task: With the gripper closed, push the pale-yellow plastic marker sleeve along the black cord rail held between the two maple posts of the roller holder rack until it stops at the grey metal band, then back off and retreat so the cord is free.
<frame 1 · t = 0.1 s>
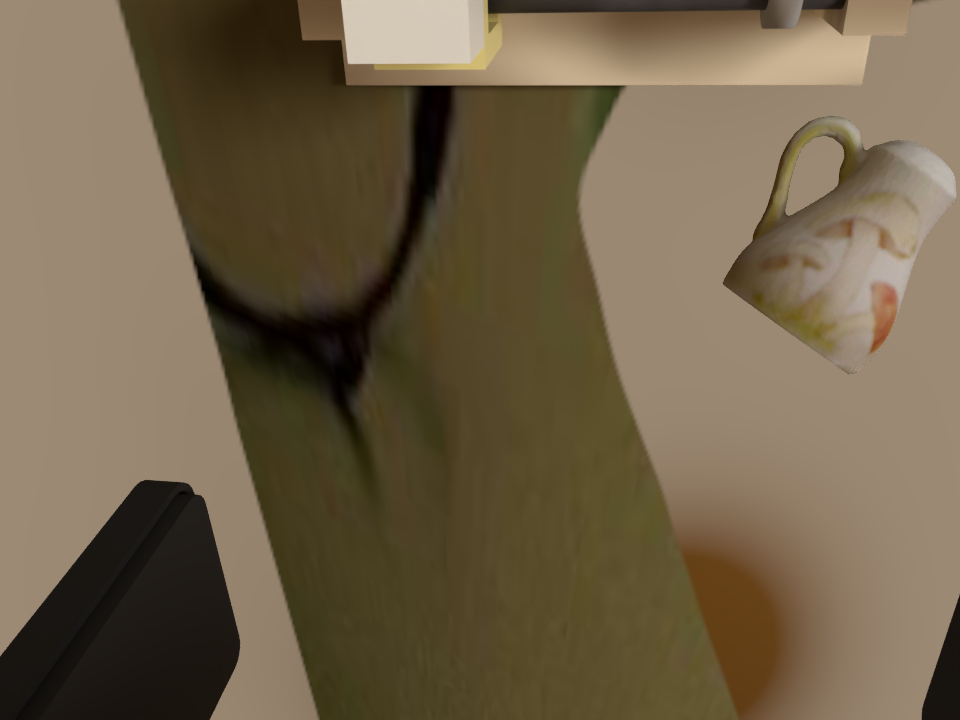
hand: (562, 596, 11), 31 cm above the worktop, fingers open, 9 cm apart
mug: (828, 220, 39), on the worktop
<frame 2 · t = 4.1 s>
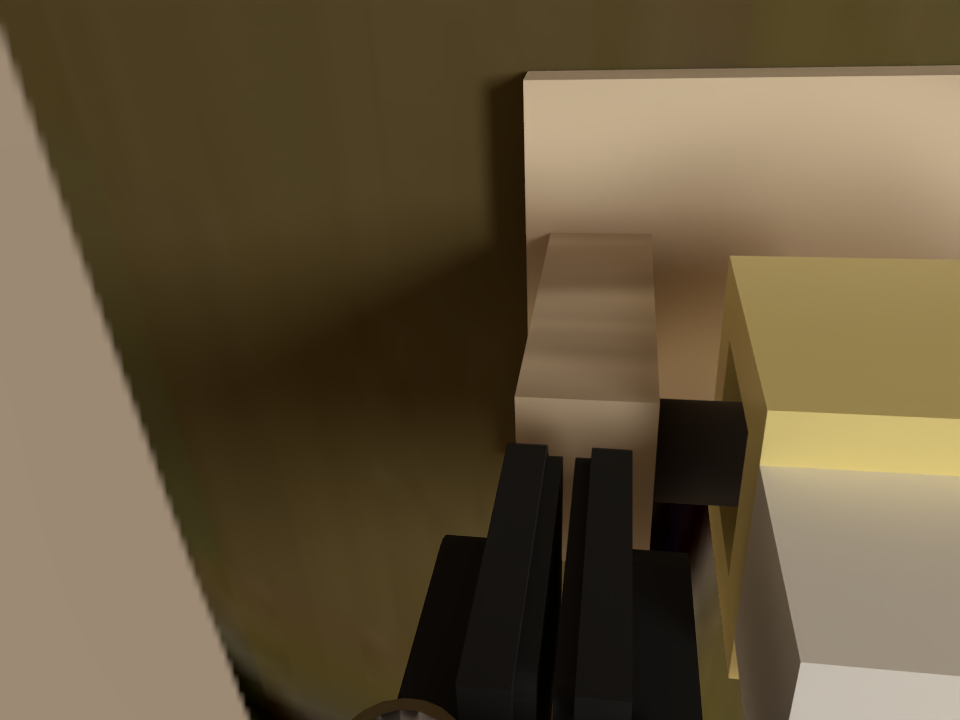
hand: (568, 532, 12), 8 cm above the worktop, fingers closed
marker sleeve: (892, 527, 12), point 8 cm above the worktop, slide at -5.3 cm, touching gripper
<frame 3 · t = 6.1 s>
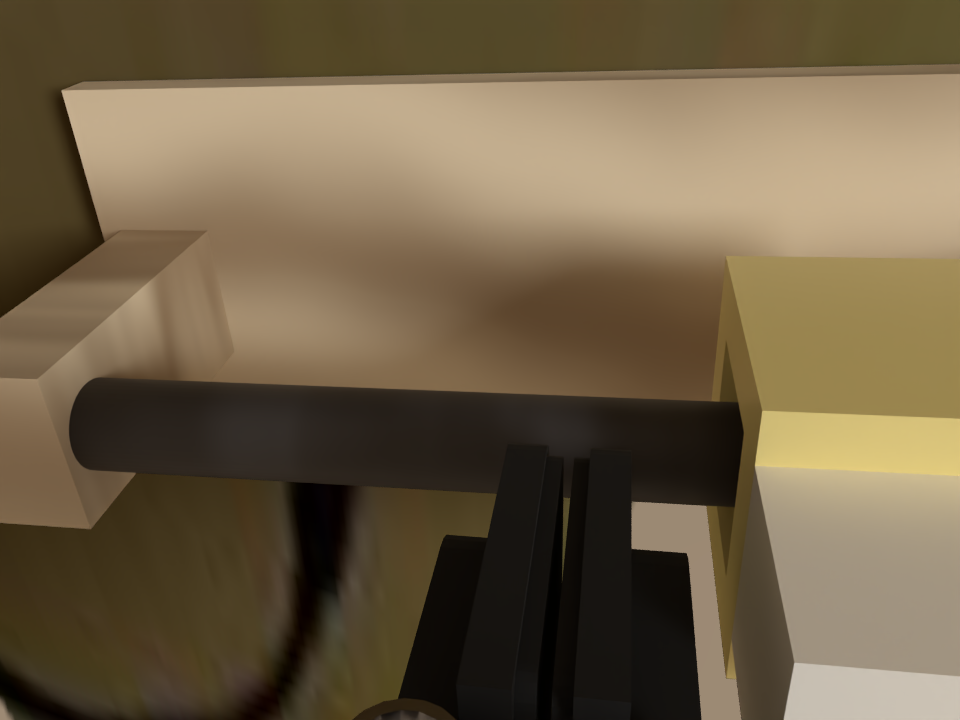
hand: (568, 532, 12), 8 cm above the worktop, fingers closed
roller holder rack: (604, 285, 19), on the worktop
marker sleeve: (889, 527, 12), point 8 cm above the worktop, slide at 4.0 cm, touching roller holder rack, gripper
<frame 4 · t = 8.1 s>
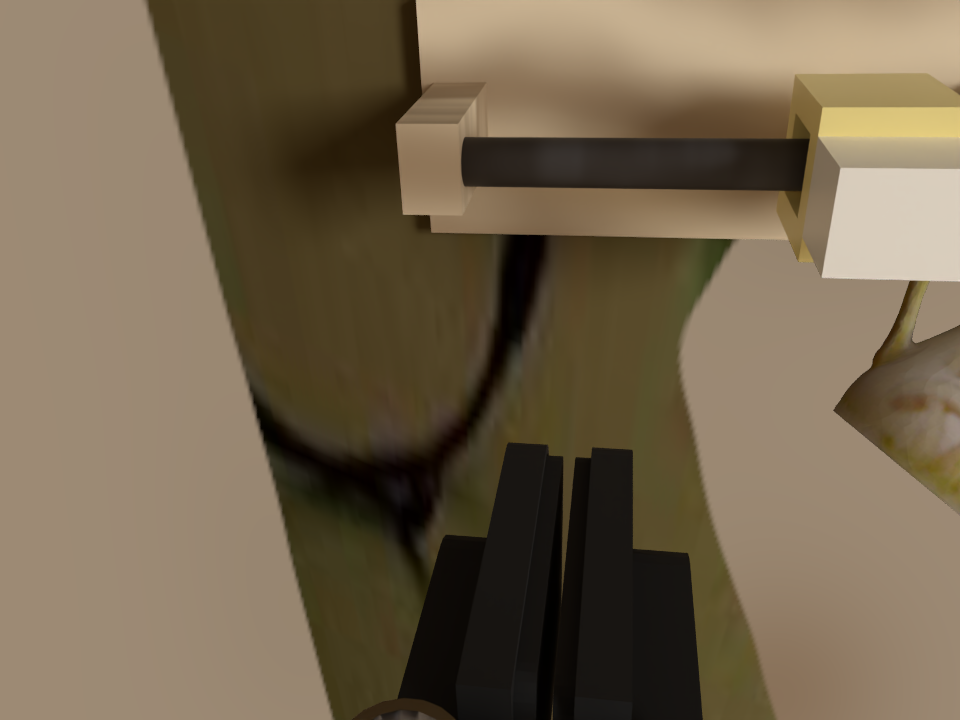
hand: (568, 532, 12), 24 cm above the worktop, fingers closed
roller holder rack: (714, 117, 32), on the worktop
mug: (950, 345, 36), on the worktop
marker sleeve: (876, 180, 25), point 8 cm above the worktop, slide at 4.0 cm, touching roller holder rack
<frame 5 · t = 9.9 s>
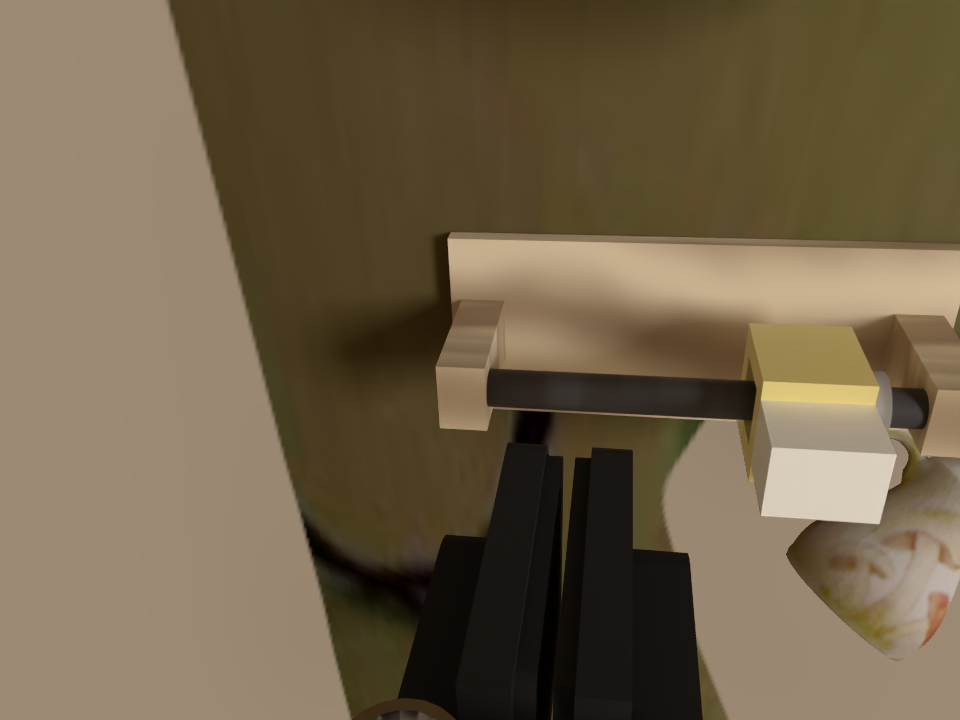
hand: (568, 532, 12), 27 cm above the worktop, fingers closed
roller holder rack: (689, 328, 40), on the worktop
mug: (883, 498, 43), on the worktop
marker sleeve: (807, 424, 33), point 8 cm above the worktop, slide at 4.0 cm, touching roller holder rack
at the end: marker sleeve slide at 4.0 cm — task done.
